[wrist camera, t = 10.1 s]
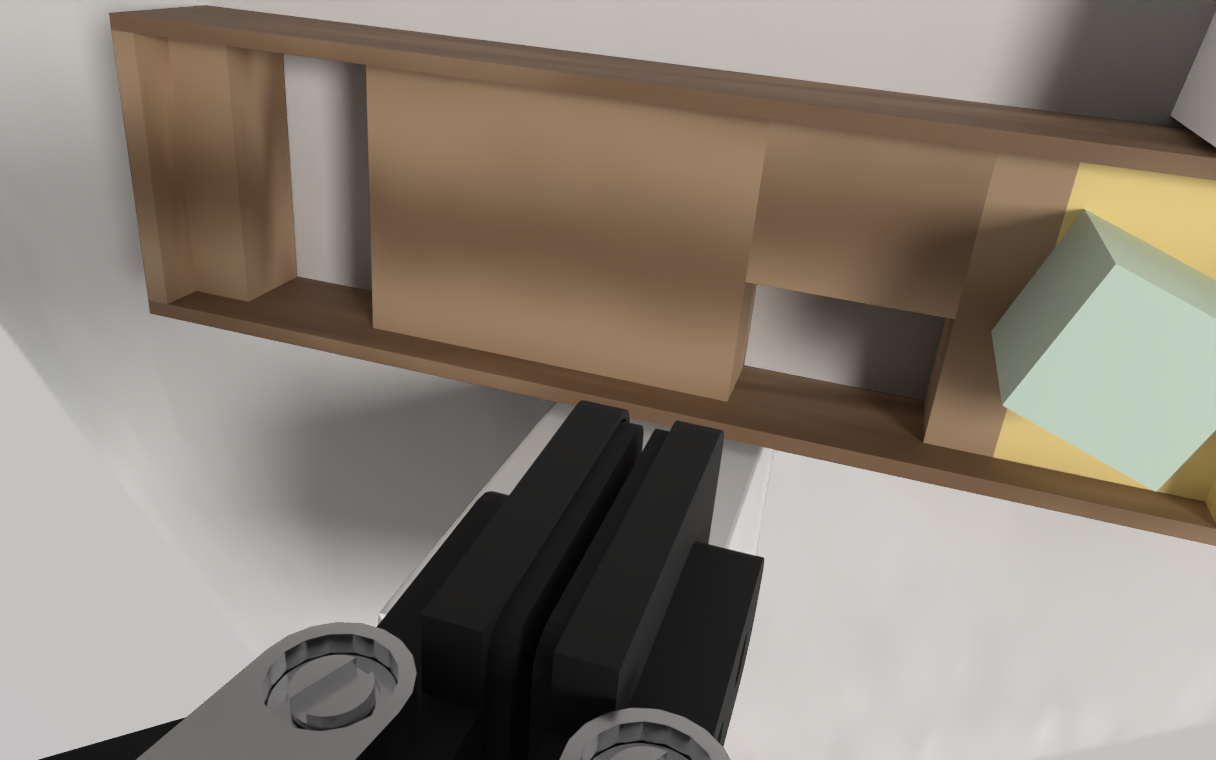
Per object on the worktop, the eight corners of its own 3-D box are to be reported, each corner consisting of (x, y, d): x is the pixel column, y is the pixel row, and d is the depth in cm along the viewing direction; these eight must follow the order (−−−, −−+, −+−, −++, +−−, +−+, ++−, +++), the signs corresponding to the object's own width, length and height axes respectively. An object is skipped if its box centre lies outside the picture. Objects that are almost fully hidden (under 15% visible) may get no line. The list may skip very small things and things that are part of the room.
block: (1084, 208, 25) (1116, 263, 20) (1223, 284, 25) (1286, 357, 20) (991, 331, 27) (1001, 405, 22) (1119, 403, 27) (1155, 492, 22)
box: (205, 5, 33) (109, 13, 30) (1336, 147, 25) (1410, 183, 21) (231, 275, 38) (150, 313, 34) (1203, 471, 30) (1244, 551, 26)
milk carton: (782, 399, 33) (626, 856, 16) (754, 568, 36) (599, 1097, 19) (586, 361, 35) (265, 740, 18) (575, 525, 38) (293, 978, 21)
